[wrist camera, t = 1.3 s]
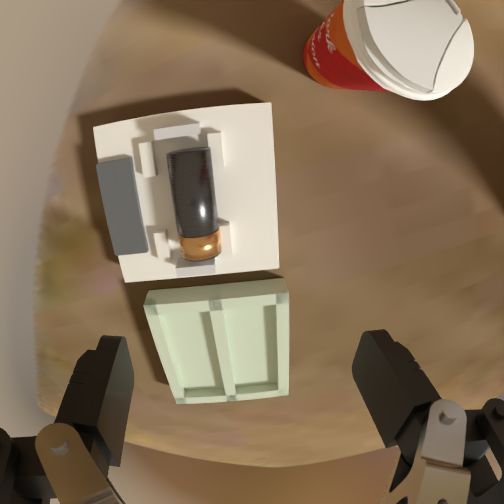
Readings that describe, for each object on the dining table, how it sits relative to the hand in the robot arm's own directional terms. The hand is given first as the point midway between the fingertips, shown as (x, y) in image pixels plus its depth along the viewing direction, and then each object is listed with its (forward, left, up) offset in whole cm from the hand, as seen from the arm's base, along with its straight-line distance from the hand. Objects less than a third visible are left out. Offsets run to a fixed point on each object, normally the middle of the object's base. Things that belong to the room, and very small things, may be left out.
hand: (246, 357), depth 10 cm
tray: (+2, +16, -19) cm, 25 cm away
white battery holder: (+3, -1, -19) cm, 20 cm away
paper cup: (-10, -12, -20) cm, 25 cm away
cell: (+3, -1, -17) cm, 17 cm away
